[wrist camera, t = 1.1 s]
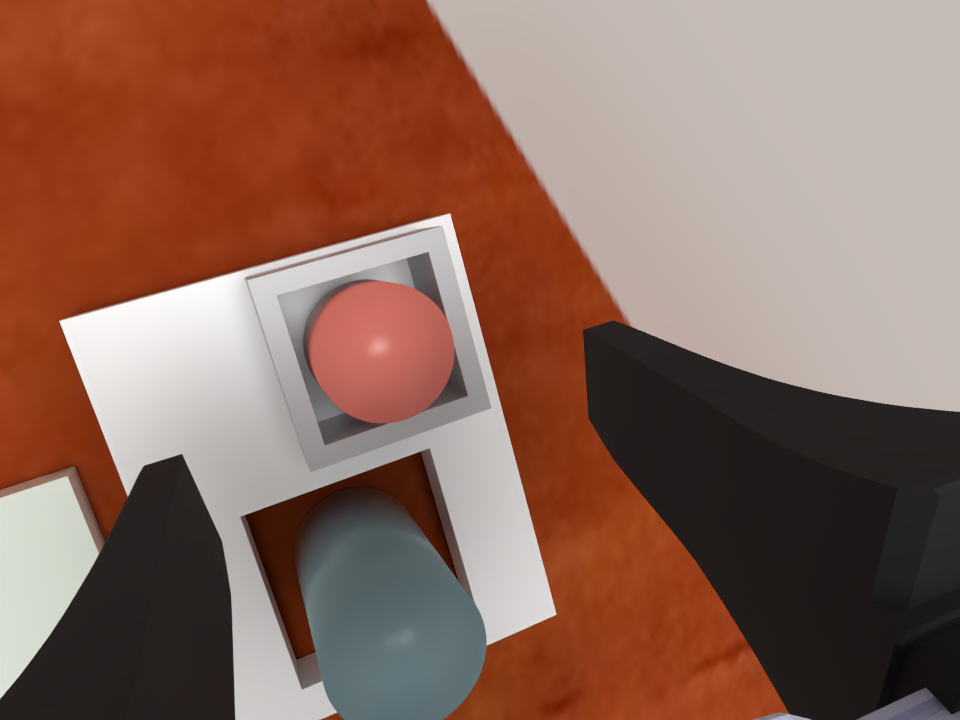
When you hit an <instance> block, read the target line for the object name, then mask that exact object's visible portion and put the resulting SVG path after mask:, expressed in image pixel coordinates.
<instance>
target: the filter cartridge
mask: <svg viewBox="0 0 960 720" xmlns="http://www.w3.org/2000/svg"><path fill="white" fill-rule="evenodd" d="M294 562H295V567H296V571H297V575H298V579H299V584H300V588H301V592H302V596H303V601H304V605H305V609H306V613H307V617H308V622H309V626H310V630H311V634H312V639H313V643H314V647H315V651H316V656H317V660H318V664H319V668H320V673H321V677H322V681H323V685H324V689H325V692H326V694H327V697H328V699H329V701H330V703H331V704H332V706H333V707H334V709H335V710H336V711H337V713H338V714H339V715H340V716H341V717H342V718H343V719H345V720H443V719H444V718H445V717H447V716H448V715H450V714H451V713H452V712H453V711H454V710H455V709H457V708H458V706H459V705H460V704H461V703H462V702H463V701H464V700H465V699H466V697H467V696H468V695H469V693H470V692H471V691H472V689H473V687H474V686H475V684H476V682H477V680H478V678H479V676H480V673H481V671H482V667H483V664H484V660H485V655H486V644H487V641H486V630H485V626H484V622H483V619H482V616H481V614H480V612H479V610H478V608H477V606H476V605H475V603H474V602H473V601H472V599H471V598H470V596H469V595H468V594H467V592H466V591H465V590H464V588H463V587H462V585H461V584H460V583H459V581H458V580H457V579H456V577H455V576H454V574H453V573H452V572H451V570H450V569H449V568H448V566H447V565H446V563H445V562H444V561H443V559H442V558H441V557H440V555H439V554H438V552H437V551H436V550H435V548H434V547H433V545H432V544H431V543H430V541H429V540H428V539H427V537H426V536H425V534H424V533H423V532H422V530H421V529H420V528H419V526H418V525H417V523H416V522H415V521H414V519H413V518H412V517H411V515H410V514H409V512H408V511H407V510H406V508H405V507H404V506H403V505H402V504H401V503H400V502H399V501H398V500H397V499H396V498H394V497H393V496H392V495H390V494H388V493H386V492H384V491H381V490H378V489H374V488H369V487H353V488H347V489H343V490H340V491H337V492H335V493H333V494H330V495H329V496H327V497H325V498H324V499H322V500H321V501H320V502H318V503H317V504H316V505H315V506H314V507H313V508H312V509H311V510H310V511H309V512H308V513H307V515H306V516H305V517H304V519H303V521H302V522H301V524H300V526H299V529H298V531H297V534H296V537H295V542H294Z"/></svg>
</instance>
